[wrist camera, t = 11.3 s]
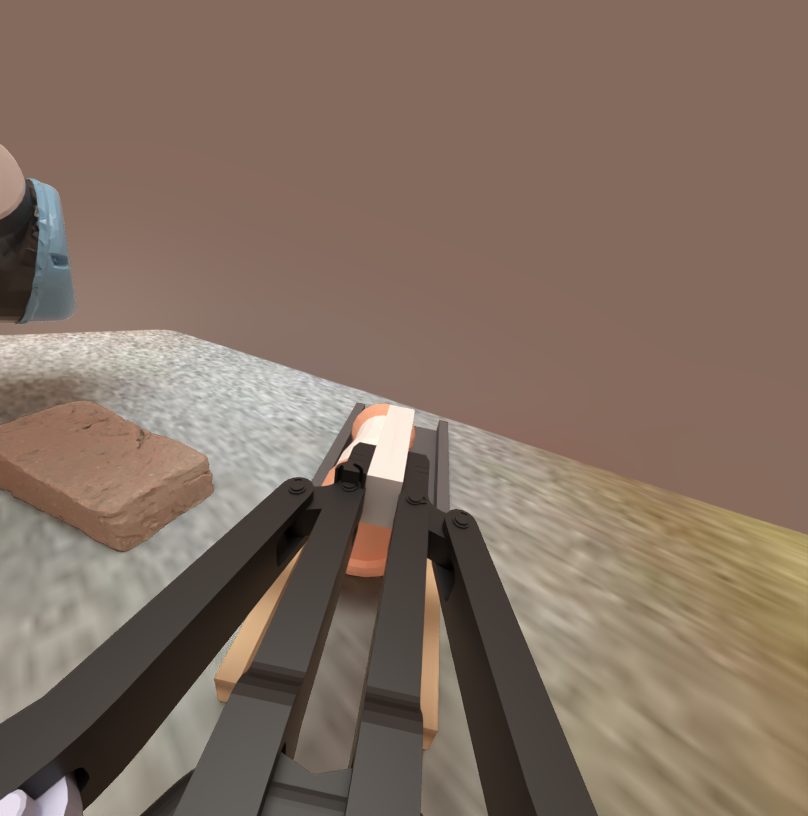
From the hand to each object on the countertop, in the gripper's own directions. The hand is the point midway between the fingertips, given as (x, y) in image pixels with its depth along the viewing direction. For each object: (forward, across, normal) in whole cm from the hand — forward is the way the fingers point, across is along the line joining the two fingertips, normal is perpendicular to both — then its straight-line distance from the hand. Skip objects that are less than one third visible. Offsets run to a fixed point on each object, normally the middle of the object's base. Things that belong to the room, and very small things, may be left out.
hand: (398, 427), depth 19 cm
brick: (+3, -24, -14) cm, 28 cm away
